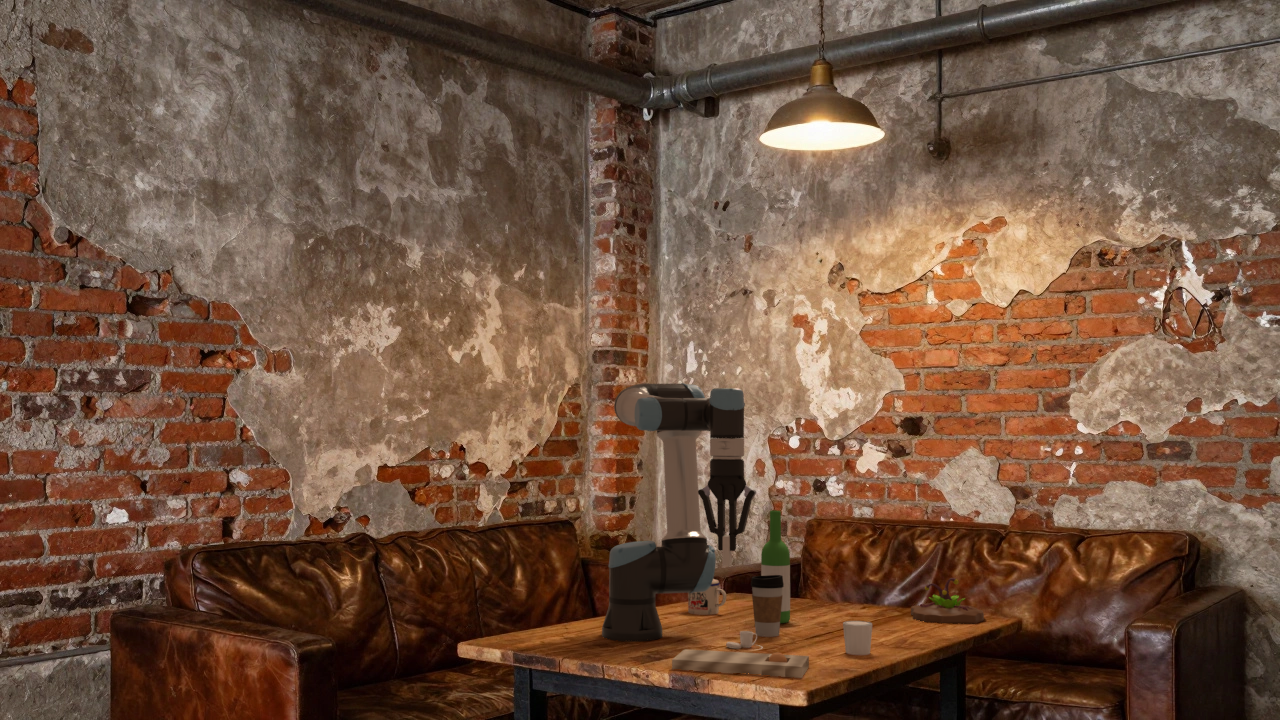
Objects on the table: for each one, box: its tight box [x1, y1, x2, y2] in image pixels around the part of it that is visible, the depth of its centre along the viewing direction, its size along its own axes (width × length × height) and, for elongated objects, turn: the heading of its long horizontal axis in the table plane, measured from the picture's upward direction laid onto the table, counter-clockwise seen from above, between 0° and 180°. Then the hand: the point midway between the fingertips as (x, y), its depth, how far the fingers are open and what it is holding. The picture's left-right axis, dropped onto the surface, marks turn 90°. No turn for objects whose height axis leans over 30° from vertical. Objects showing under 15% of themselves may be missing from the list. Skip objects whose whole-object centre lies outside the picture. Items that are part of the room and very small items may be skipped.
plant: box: [910, 577, 985, 625], centre depth 323 cm, size 20×20×11 cm
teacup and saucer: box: [726, 630, 764, 651], centre depth 277 cm, size 9×8×4 cm
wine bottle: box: [760, 509, 791, 624], centre depth 315 cm, size 8×8×30 cm
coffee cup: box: [750, 575, 784, 638], centre depth 294 cm, size 8×8×15 cm
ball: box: [768, 652, 787, 663], centre depth 250 cm, size 4×4×4 cm
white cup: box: [842, 620, 873, 656], centre depth 271 cm, size 7×7×7 cm
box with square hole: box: [671, 648, 810, 679], centre depth 252 cm, size 28×12×2 cm, turn 75°
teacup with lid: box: [687, 578, 727, 616], centre depth 328 cm, size 12×9×12 cm
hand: (727, 565), depth 254 cm, fingers closed
